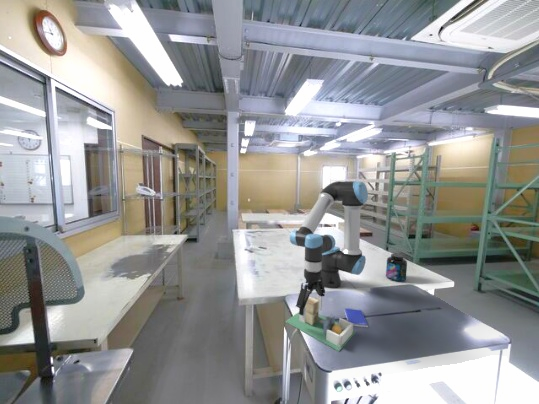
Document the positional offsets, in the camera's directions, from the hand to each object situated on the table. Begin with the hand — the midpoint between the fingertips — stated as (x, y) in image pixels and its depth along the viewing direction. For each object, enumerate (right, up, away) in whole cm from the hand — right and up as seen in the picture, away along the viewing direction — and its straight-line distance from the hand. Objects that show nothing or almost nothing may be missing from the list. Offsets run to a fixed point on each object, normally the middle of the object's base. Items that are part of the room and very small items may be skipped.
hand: (310, 314), depth 104 cm
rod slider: (+3, -3, -2) cm, 5 cm away
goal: (+10, -5, -9) cm, 15 cm away
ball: (+9, -2, -8) cm, 13 cm away
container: (+67, -1, +51) cm, 84 cm away
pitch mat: (+3, -4, -3) cm, 6 cm away
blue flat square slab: (+22, -5, +4) cm, 23 cm away
